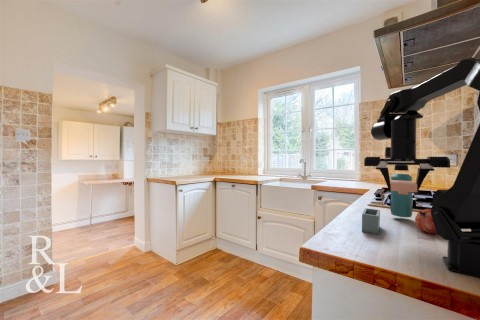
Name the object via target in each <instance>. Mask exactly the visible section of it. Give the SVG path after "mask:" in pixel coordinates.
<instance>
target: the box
mask: <svg viewBox="0 0 480 320" xmlns="http://www.w3.org/2000/svg"><path fill="white" fill-rule="evenodd" d="M380 216H381V209H376V208H367V207H365V208H364V209H363V211H362V213H361V233H366V234H372V235H377V236H378V235H379V232H380V228H381V226H380V225H381V224H380V223H381V222H380V221H381V218H380Z"/></svg>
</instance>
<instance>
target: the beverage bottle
mask: <svg viewBox="0 0 480 320" xmlns="http://www.w3.org/2000/svg"><path fill="white" fill-rule="evenodd" d="M394 171H398V172H399V171H400V172H401V171H405V172H408V171H409V165H394ZM391 180H399V181H413V176H412V175H410V174H409V173H393V174H391V176H390V181H391ZM413 201H414V200H413V192H408V195H405V194H398V191H391V192H390V202H389V203H390V209H389V210H390V214H391V215H392V216H393V217H394V216H395V217H400V218H412V216H413Z"/></svg>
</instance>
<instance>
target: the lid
mask: <svg viewBox="0 0 480 320" xmlns="http://www.w3.org/2000/svg"><path fill="white" fill-rule="evenodd" d="M390 184H391V191H398V194H405V195H408V192H412V193H415V192H417V184H416V181H415V180H412V181H399V180H391V179H390Z"/></svg>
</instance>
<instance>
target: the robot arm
mask: <svg viewBox="0 0 480 320" xmlns="http://www.w3.org/2000/svg"><path fill="white" fill-rule="evenodd" d="M465 86H468V87H470V88H471V89H474V90H476V91H478V92H479V93H478V97H477V100H476V101H477V102H476V104H477V107H478V110H479V112H480V57H467V58H463V59H462V60H460V61H459V62H458V63H457V64H456V65H454V66H452V67H450V68H448V69H447V70H444V71H442V72H441V73H439V74H437V75H435V76H433V77H431V78H429V79H428V80H426V81H424V82H422V83H420V84H418V85H416V86H414V87H411V88H405V89H400V90H397V91H395V92H392V93H391V94H389V96H388V98H387V99H386V101H385V104H384V106H383V108H382V109H381V111H380V112H379V113H380V115H379V118H377V120H376V123H375V124H373V126H372V127H371V130H370V134H371V136H372V138H373V139H375V140H377V141H381V140H383V141H384V140H390V146H388V147H386V146H385V148H384V149H385V150H384V154H385V155H384V157H385V158H381V156H365V157H364V162H363V165H364V167H375V170H379V171H380V173H381V174H382V177H383V178H384V181H385V183H386V187H387V189H388V192H390V193H391V176H390V172H389V167H388V166H390V165H391V166H395V165H408V166H419V167H417V172H416V173H417V174H416V180H415V183H416V184H417V192H414V194H415V195H416V194H418V192H419V190H420V188H421V186H422V184H423V182H424V180H425V179H426V177H427V175H428V174H429V173H430V172H431V171H432V172H435V168H443V169H445V168H448V169H449V168H451V158H449V157H448V156H427V157H426V158H417V120H419V119H423V118H424V115H423V114H421V113H419V112H418V111H420V110H421V109H423V108H425V106H426V105H427V103H428V102H430V101H432V100H434V99H437V98H440V97H441V96H443V95H444V96H445V95H446V94H448V93H451V92H453V91H456V90H458V89H460V88H463V87H465ZM462 161H463V162H462V163H461V166H460V167H459V171H458V173H457V175H456V178H455V180H454V183H453V184H452V185H451V187H449V188H448V189H437V190H436V191H435V192H434V197H433V200H432V201H431V203H429V206H431V207H430V209H431V215H432V219H433V223H434V226H435V230H436V233H437V234H436V236H439V237H441V238H442V240H445V241H447V256H445V255H444V256H442V260H443V262H444V264H445V267H446V269H447V270H448V271H451V272H455V273H461V274H464V275H468V276H474V277H477V278H480V123H479V124H478V126H477V129H476V131H475V133H474V135H473V137H472V140H471V143H470V145H469V147H468V150H467V152H466V154H465V156H464V159H463V160H462ZM464 230H465V231H464ZM466 230H469V231H466Z"/></svg>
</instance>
